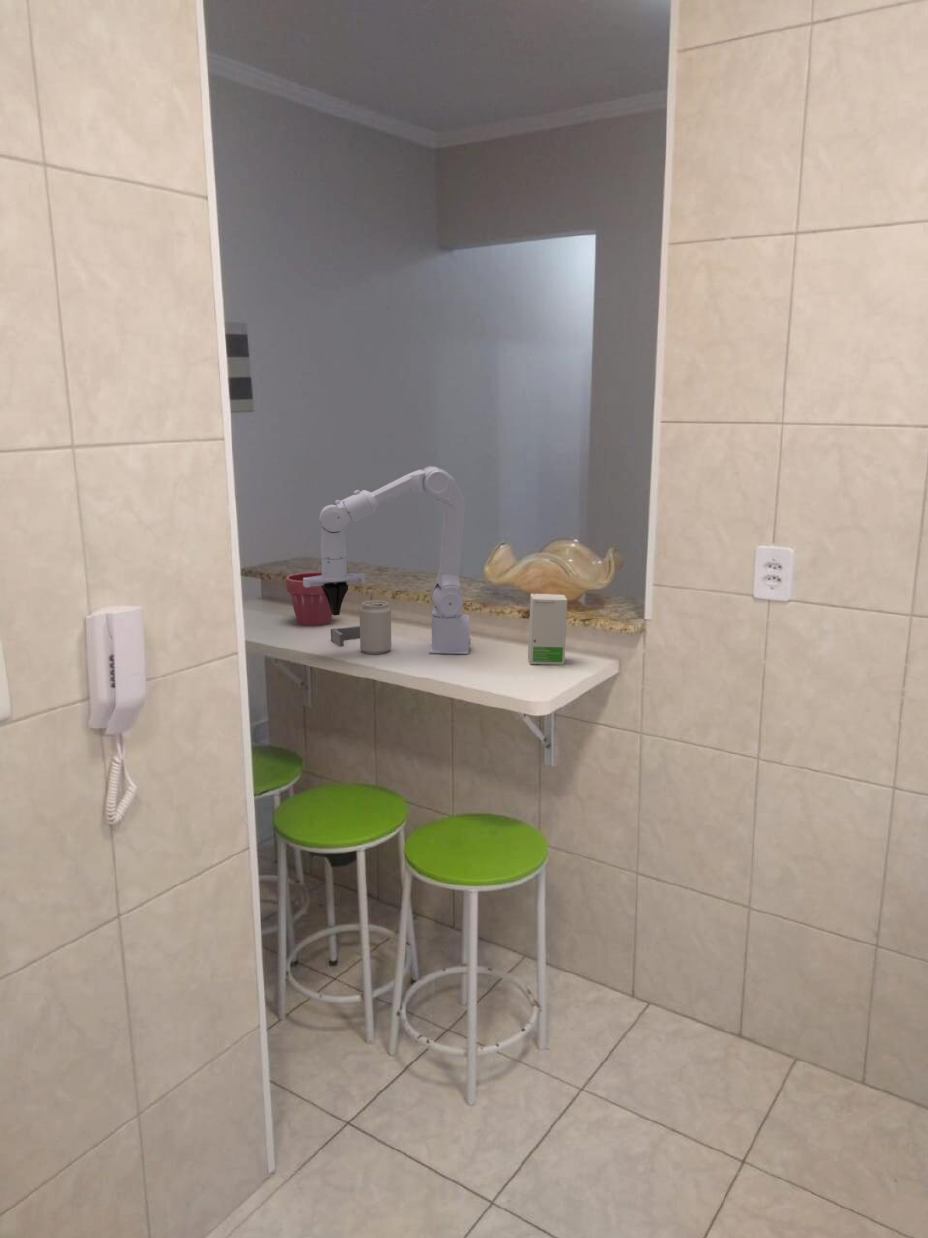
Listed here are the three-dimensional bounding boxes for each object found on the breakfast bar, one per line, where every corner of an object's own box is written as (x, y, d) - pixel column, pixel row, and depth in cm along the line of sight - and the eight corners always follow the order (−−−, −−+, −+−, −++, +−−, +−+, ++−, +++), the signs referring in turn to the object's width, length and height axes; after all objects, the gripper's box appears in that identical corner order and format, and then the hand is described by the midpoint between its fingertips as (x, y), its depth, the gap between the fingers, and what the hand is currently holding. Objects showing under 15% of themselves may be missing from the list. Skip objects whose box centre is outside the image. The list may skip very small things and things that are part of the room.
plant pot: (284, 618, 262) (282, 572, 259) (335, 614, 266) (333, 570, 264) (291, 630, 249) (289, 582, 246) (344, 626, 253) (343, 579, 250)
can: (386, 655, 225) (385, 606, 222) (356, 654, 227) (355, 605, 224) (394, 647, 232) (394, 600, 230) (365, 646, 234) (364, 598, 231)
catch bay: (388, 640, 239) (388, 629, 238) (339, 646, 233) (339, 634, 232) (379, 634, 244) (379, 623, 244) (331, 640, 239) (330, 628, 238)
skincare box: (529, 665, 218) (531, 599, 215) (527, 657, 225) (528, 593, 221) (566, 665, 218) (568, 599, 215) (562, 657, 225) (564, 593, 221)
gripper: (357, 552, 226) (358, 608, 230) (298, 556, 220) (300, 613, 223) (367, 557, 220) (369, 614, 223) (307, 561, 214) (309, 620, 217)
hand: (335, 614), depth 223 cm, fingers closed
